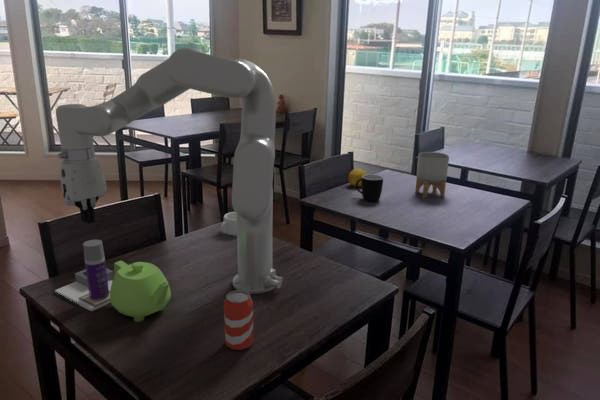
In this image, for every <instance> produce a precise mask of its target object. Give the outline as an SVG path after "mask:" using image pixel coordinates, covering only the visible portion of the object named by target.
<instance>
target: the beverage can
mask: <svg viewBox="0 0 600 400" xmlns="http://www.w3.org/2000/svg"><path fill="white" fill-rule="evenodd" d="M223 315H224V316H223V319H224V321H223V323H224V337H225V338H224V341H225V346H226V347H228V348H230V349H231V350H235V351H236V350H237V351H242V350H245V349H247V348H250V347H251V346H252V344H253V343H254V340H255V338H254V335H255V334H254V301H253V299H252V297H251V294H249V293H248V292H246V291H244V290H237V289H235V290H233V291H229V292H228V293H227V294H226V295H225V299H224V300H223Z"/></svg>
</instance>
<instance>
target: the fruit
mask: <svg viewBox="0 0 600 400" xmlns="http://www.w3.org/2000/svg"><path fill="white" fill-rule="evenodd" d="M367 174H368V173H367V172H366V171H365V170H364V169H362V168H355V169H352V170H351V171H350V172H349V173H348V182H349V184H350V185H351V186H353V187H355V188H356V182H357V181H358V180H359V179H362V176H363V175H367ZM359 187H362V181H359V182H358V188H359Z"/></svg>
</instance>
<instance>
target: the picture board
mask: <svg viewBox="0 0 600 400" xmlns="http://www.w3.org/2000/svg"><path fill="white" fill-rule="evenodd" d="M106 272H107V281H108V289H109V297H108V298H106V299H104V300H101V301H92V300H91V299H90V296H89V289H88V282H87V274H86V268H84V269H83V270H81V271H78V272H75V273H74V277H75V281H74V282H72V283H69V284H67V285H65V286H62V287H59V288H57V289H55V290H54V293H55V292H57V293H58V294H57V293H56V294H57V295H59V294H60V295H62V296H64V297H65V298H64V297H63V298H64V299H66V298H67V299H66V300H68V299H69V300H68V301H70V302H72V301H73V302H72V303H74V302H75V303H74V304H76V303H77V304H76V305H78V304H79V305H78V306H80V307H82V308H84V309H86V310H88V311H90V312H91V311H92V312H95V310H98V309H101V308H102V307H104V306H107V305H108V304H111V301H110V290H111V285H112V282H113V280H114V270H111V269H109V268H107V267H106ZM60 295H59V296H60ZM62 296H61V297H62Z"/></svg>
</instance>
